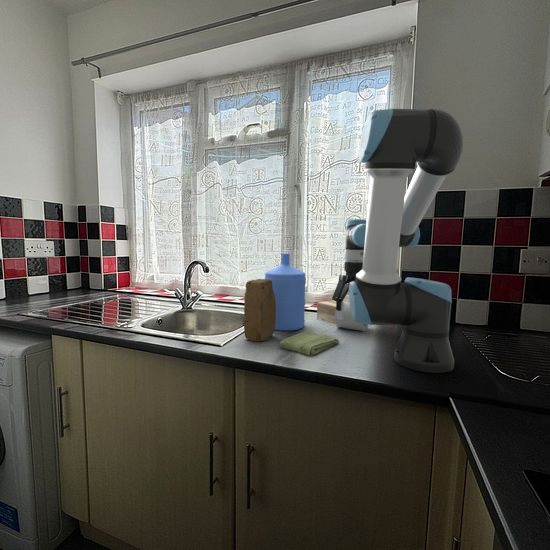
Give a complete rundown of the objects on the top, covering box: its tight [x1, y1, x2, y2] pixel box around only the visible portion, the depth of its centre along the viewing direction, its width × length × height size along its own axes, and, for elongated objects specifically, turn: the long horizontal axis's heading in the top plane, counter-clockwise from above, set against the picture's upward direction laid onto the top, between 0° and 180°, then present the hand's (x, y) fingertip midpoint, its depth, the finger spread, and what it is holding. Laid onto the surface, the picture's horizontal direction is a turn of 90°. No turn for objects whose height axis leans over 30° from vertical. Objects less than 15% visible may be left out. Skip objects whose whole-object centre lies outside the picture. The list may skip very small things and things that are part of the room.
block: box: [243, 278, 276, 342], centre depth 112 cm, size 11×8×20 cm
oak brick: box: [316, 299, 348, 324], centre depth 142 cm, size 13×13×7 cm
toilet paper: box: [334, 300, 369, 332], centre depth 127 cm, size 10×10×10 cm
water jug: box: [264, 253, 307, 332], centre depth 128 cm, size 16×16×28 cm
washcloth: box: [279, 330, 340, 356], centre depth 106 cm, size 13×18×3 cm
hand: (352, 316), depth 127 cm, fingers open, 13 cm apart
